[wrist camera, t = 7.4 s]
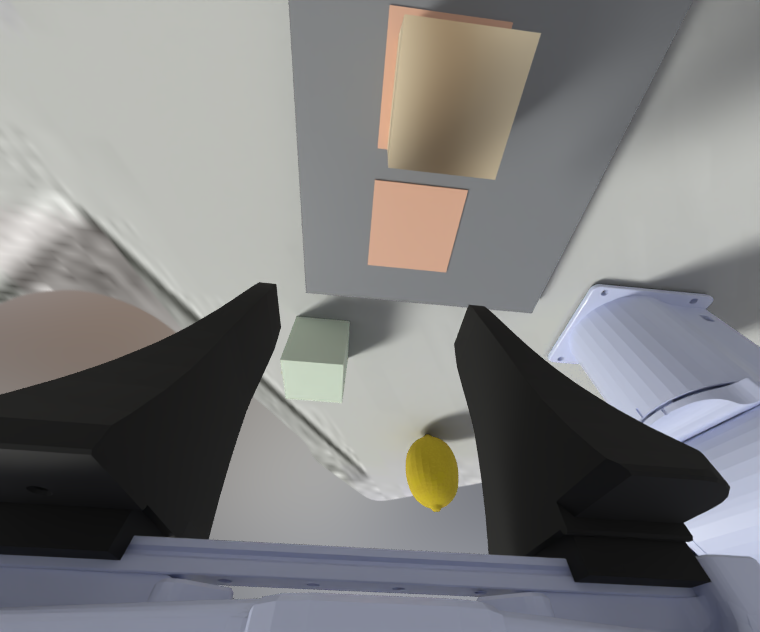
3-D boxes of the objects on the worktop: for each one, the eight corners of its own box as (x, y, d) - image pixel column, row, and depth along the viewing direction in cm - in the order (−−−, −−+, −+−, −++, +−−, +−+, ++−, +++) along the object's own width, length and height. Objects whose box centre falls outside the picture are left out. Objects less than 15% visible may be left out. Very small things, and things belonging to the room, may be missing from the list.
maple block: (495, 48, 14) (541, 33, 10) (468, 156, 16) (494, 179, 12) (398, 35, 13) (404, 14, 9) (387, 147, 16) (388, 168, 12)
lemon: (424, 451, 38) (432, 525, 31) (394, 434, 35) (396, 510, 29) (460, 435, 35) (477, 511, 29) (430, 415, 33) (441, 493, 27)
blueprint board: (712, -78, 12) (743, -94, 11) (525, 304, 24) (532, 314, 23) (287, -149, 11) (277, -172, 10) (309, 284, 23) (305, 293, 22)
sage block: (349, 320, 25) (343, 364, 21) (347, 357, 28) (341, 403, 24) (296, 316, 25) (280, 359, 21) (300, 353, 27) (285, 398, 24)
